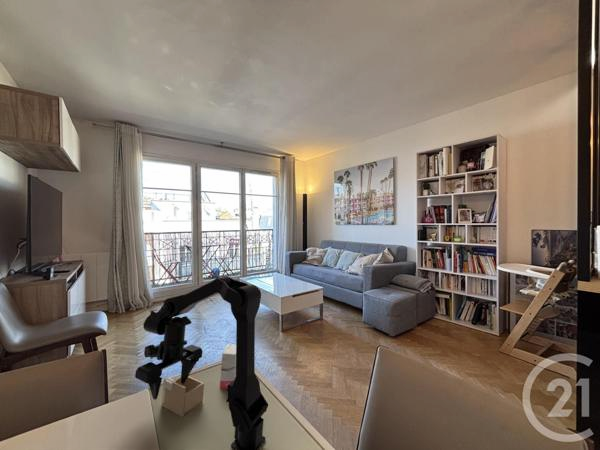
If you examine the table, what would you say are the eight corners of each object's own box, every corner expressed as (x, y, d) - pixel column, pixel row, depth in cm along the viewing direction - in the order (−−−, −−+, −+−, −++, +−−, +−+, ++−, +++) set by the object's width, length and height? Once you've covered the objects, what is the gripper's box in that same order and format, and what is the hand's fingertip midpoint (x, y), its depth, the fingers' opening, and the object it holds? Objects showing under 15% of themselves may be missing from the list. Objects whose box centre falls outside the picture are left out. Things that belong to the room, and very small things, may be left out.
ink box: (233, 389, 86) (235, 354, 87) (218, 388, 86) (221, 353, 87) (238, 375, 95) (240, 343, 96) (225, 375, 95) (227, 343, 95)
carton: (202, 402, 78) (204, 383, 79) (184, 415, 72) (185, 394, 73) (183, 393, 82) (184, 374, 83) (164, 404, 76) (165, 384, 77)
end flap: (184, 414, 73) (187, 386, 73) (180, 417, 71) (182, 388, 72) (164, 403, 77) (167, 376, 77) (160, 406, 75) (162, 379, 76)
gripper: (182, 323, 88) (178, 369, 87) (126, 341, 71) (120, 398, 70) (205, 330, 83) (201, 379, 82) (150, 352, 66) (144, 412, 65)
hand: (169, 390), depth 75 cm, fingers open, 9 cm apart
